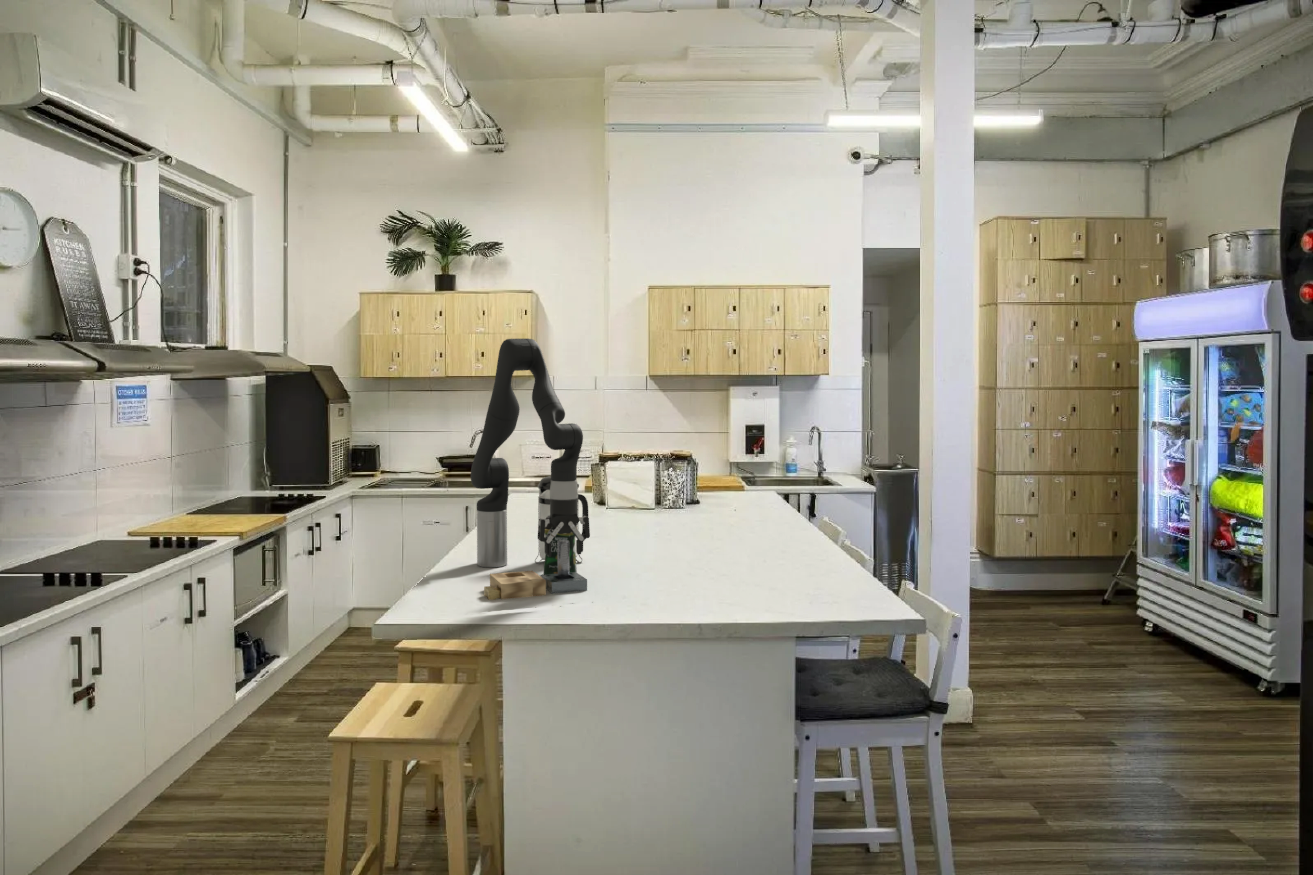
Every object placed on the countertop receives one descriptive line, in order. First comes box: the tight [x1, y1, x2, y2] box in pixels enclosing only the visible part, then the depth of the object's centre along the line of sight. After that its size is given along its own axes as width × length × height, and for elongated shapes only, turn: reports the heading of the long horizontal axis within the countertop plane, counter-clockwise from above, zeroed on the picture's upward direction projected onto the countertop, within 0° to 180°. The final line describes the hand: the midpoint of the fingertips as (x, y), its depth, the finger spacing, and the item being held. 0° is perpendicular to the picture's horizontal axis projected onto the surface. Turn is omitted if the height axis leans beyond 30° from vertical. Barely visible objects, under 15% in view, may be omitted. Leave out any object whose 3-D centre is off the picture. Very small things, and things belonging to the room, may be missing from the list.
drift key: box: [483, 585, 501, 601], centre depth 258 cm, size 5×8×3 cm, turn 113°
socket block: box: [489, 570, 547, 600], centre depth 264 cm, size 12×13×5 cm
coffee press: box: [534, 475, 589, 564], centre depth 306 cm, size 17×16×30 cm
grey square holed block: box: [541, 572, 588, 595], centre depth 268 cm, size 10×10×4 cm
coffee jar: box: [543, 516, 578, 575], centre depth 284 cm, size 10×8×19 cm
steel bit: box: [557, 540, 569, 580], centre depth 268 cm, size 3×3×13 cm
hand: (563, 555), depth 268 cm, fingers open, 8 cm apart
